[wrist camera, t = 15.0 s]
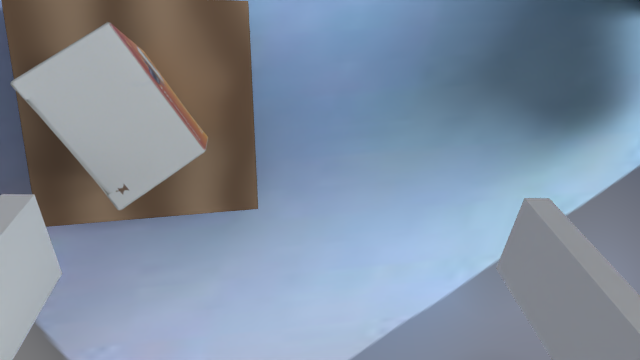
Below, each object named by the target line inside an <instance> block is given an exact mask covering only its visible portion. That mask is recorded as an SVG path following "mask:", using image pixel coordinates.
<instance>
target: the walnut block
mask: <svg viewBox="0 0 640 360" xmlns="http://www.w3.org/2000/svg"><path fill="white" fill-rule="evenodd" d="M2 7H3V13H4V19H5V26H6V32H7V38H8V45H9V51H10V57H11V64H12V70H13V76H14V79H16V78H17V77H19V76H21V75H22V74H24V73H26V72H27V71H29V70H30V69H32V68H34V67H35V66H37V65H38V64H40V63H42V62H43V61H45V60H47V59H48V58H50V57H51V56H53V55H55V54H56V53H58V52H60V51H61V50H63V49H65V48H66V47H68V46H69V45H71V44H73V43H74V42H76V41H78V40H79V39H81V38H82V37H84V36H86V35H87V34H89V33H91V32H92V31H94V30H96V29H97V28H99V27H101V26H102V25H104V24H105V23H107V22H109V23H111V24H112V25H113V26H115V27H116V28H117V29H118V30H119V31H121V32H122V33H123V34H124V35H125V36H126V37H127V38H129V39H130V40H131V41H133V42H134V43H135V44H136V45H137V46H138V47H140V48H141V49H142V50H143V51H144V52H145V53H146V55H147V56H148V57H149V59H150V60H151V61H152V63H153V64H154V66H155V67H156V68H157V70H158V71H159V72H160V74H161V75H162V76H163V78H164V79H165V81H166V82H167V83H168V85H169V86H170V87H171V89H172V90H173V92H174V93H175V94H176V96H177V97H178V98H179V100H180V101H181V103H182V104H183V105H184V107H185V108H186V109H187V111H188V112H189V113H190V115H191V116H192V117H193V118H194V120H195V121H196V122H197V124H198V125H199V126H200V127H201V129H202V130H203V131H204V132H205V134H206V135H207V136H208V142H207V146H206V151H205V152H204V153H203V154H201V155H200V156H198V157H197V158H196V159H194V160H193V161H191V162H190V163H188V164H187V165H186V166H184V167H183V168H181V169H180V170H178V171H177V172H176V173H174V174H173V175H171V176H170V177H168V178H167V179H166V180H164V181H163V182H161V183H160V184H158V185H157V186H155V187H154V188H153V189H151V190H150V191H148V192H147V193H145V194H144V195H142V196H141V197H140V198H138V199H137V200H135V201H134V202H132V203H131V204H129V205H128V206H126V207H125V208H124V209H122V210H117V208H116V207H115V206H114V204H113V203H112V202H111V201H110V199H109V198H108V197H107V195H106V194H105V193H104V191H103V190H102V189H101V187H100V186H99V185H98V184H97V183H96V181H95V180H94V179H93V178H92V176H91V175H90V174H89V173H88V172H87V171H86V169H85V168H84V167H83V166H82V165H81V164H80V162H79V161H78V160H77V159H76V158H75V157H74V155H73V154H72V153H71V152H70V151H69V150H68V148H67V147H66V146H65V145H64V144H63V143H62V141H61V140H60V139H59V138H58V137H57V136H56V135H55V133H54V132H53V131H52V130H51V129H50V128H49V126H48V125H47V124H46V123H45V122H44V121H43V120H42V118H41V117H40V116H39V115H38V114H37V113H36V112H35V111H34V109H33V108H32V107H31V106H30V105H29V104H28V103H27V102H26V101H25V100H24V99H23V98H22V97H21V96H20V94H19V93H18V92H17V91H16V95H17V102H18V108H19V114H20V121H21V127H22V133H23V140H24V146H25V152H26V159H27V165H28V171H29V178H30V184H31V190H32V194H35V197H36V200H37V203H38V206H39V209H40V212H41V214H42V217H43V220H44V223H45V226H46V227H47V226H59V225H71V224H83V223H95V222H107V221H118V220H130V219H142V218H154V217H166V216H178V215H190V214H202V213H213V212H225V211H237V210H249V209H258V197H257V175H256V154H255V133H254V112H253V91H252V70H251V49H250V28H249V7H248V1H234V0H2Z"/></svg>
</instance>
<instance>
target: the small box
mask: <svg viewBox="0 0 640 360" xmlns="http://www.w3.org/2000/svg"><path fill="white" fill-rule="evenodd" d="M11 86H12V87H13V88H14V89H15V90H16V91H17V92H18V93H19V94H20V96H21V97H22V98H23V99H24V100H25V101H26V102H27V103H28V104H29V105H30V106H31V107H32V108H33V109H34V111H35V112H36V113H37V114H38V115H39V116H40V117H41V118H42V120H43V121H44V122H45V123H46V124H47V125H48V126H49V128H50V129H51V130H52V131H53V132H54V133H55V135H56V136H57V137H58V138H59V139H60V140H61V141H62V143H63V144H64V145H65V146H66V147H67V148H68V150H69V151H70V152H71V153H72V154H73V155H74V157H75V158H76V159H77V160H78V161H79V162H80V164H81V165H82V166H83V167H84V168H85V169H86V171H87V172H88V173H89V174H90V175H91V176H92V178H93V179H94V180H95V181H96V183H97V184H98V185H99V186H100V187H101V189H102V190H103V191H104V193H105V194H106V195H107V197H108V198H109V199H110V201H111V202H112V203H113V204H114V206H115V207H116V208H117V210H122V209H124V208H125V207H126V206H128V205H129V204H131V203H132V202H134V201H135V200H137V199H138V198H140V197H141V196H142V195H144V194H145V193H147V192H148V191H150V190H151V189H153V188H154V187H155V186H157V185H158V184H160V183H161V182H163V181H164V180H166V179H167V178H168V177H170V176H171V175H173V174H174V173H176V172H177V171H178V170H180V169H181V168H183V167H184V166H186V165H187V164H188V163H190V162H191V161H193V160H194V159H196V158H197V157H198V156H200V155H201V154H203V153H204V152H205V151H206V146H207V142H208V136H207V135H206V134H205V132H204V131H203V130H202V129H201V127H200V126H199V125H198V124H197V122H196V121H195V120H194V118H193V117H192V116H191V115H190V113H189V112H188V111H187V109H186V108H185V107H184V105H183V104H182V103H181V101H180V100H179V98H178V97H177V96H176V94H175V93H174V92H173V90H172V89H171V87H170V86H169V85H168V83H167V82H166V81H165V79H164V78H163V76H162V75H161V74H160V72H159V71H158V70H157V68H156V67H155V66H154V64H153V63H152V61H151V60H150V59H149V57H148V56H147V55H146V53H145V52H144V51H143V50H142V49H141V48H140V47H138V46H137V45H136V44H135V43H134V42H133V41H131V40H130V39H129V38H127V37H126V36H125V35H124V34H123V33H122V32H121V31H119V30H118V29H117V28H116V27H115V26H113V25H112V24H111V23H109V22H107V23H105V24H104V25H102V26H101V27H99V28H97V29H96V30H94V31H92V32H91V33H89V34H87V35H86V36H84V37H82V38H81V39H79V40H78V41H76V42H74V43H73V44H71V45H69V46H68V47H66V48H65V49H63V50H61V51H60V52H58V53H56V54H55V55H53V56H51V57H50V58H48V59H47V60H45V61H43V62H42V63H40V64H38V65H37V66H35V67H34V68H32V69H30V70H29V71H27V72H26V73H24V74H22V75H21V76H19V77H17V78H16V79H14V80H12V81H11Z"/></svg>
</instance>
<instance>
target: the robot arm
mask: <svg viewBox="0 0 640 360" xmlns="http://www.w3.org/2000/svg"><path fill="white" fill-rule="evenodd" d="M496 269H497V270H498V272H499V274H500V275H501V277H502V279H503V280H504V282H505V284H506V285H507V287H508V289H509V290H510V292H511V294H512V295H513V297H514V299H515V300H516V302H517V303H518V305H519V307H520V308H521V310H522V312H523V313H524V315H525V317H526V318H527V320H528V321H529V323H530V325H531V326H532V328H533V330H534V331H535V333H536V335H537V336H538V338H539V340H540V341H541V343H542V345H543V346H544V348H545V349H546V351H547V353H548V355H549V356H550V357H551V359H552V360H640V295H639V294H638V293H637V292H636V291H635V290H634V289H633V288H632V287H631V285H630V284H629V283H628V282H627V281H626V280H625V279H624V278H623V277H622V276H621V275H620V274H619V273H618V272H617V270H616V269H615V268H614V267H613V266H612V265H611V264H610V263H609V262H608V261H607V260H606V259H605V258H604V257H603V256H602V254H601V253H600V252H599V251H598V250H597V249H596V248H595V247H594V246H593V245H592V244H591V243H590V242H589V240H588V239H587V238H586V237H585V236H584V235H583V234H582V233H581V232H580V231H579V230H578V229H577V228H576V226H575V225H574V224H573V223H571V221H570V220H569V219H568V218H567V217H566V216H565V215H564V214H563V213H562V211H561V210H560V209H559V208H558V207H557V206H556V205H555V204H554V203H553V202H552V201H551V200H550V199H549V198H524V201H523V203H522V206H521V208H520V211H519V213H518V215H517V218H516V220H515V223H514V225H513V228H512V230H511V233H510V235H509V238H508V240H507V243H506V245H505V248H504V250H503V253H502V255H501V258H500V260H499V262H498V265H497V267H496ZM61 275H62V272H61V269H60V266H59V263H58V260H57V257H56V254H55V252H54V249H53V246H52V243H51V240H50V237H49V234H48V232H47V229H46V226H45V223H44V220H43V217H42V214H41V212H40V209H39V206H38V203H37V200H36V197H35V194H1V195H0V360H13V358H14V357H15V355H16V353H17V351H18V349H19V348H20V346H21V344H22V343H23V341H24V339H25V338H26V336H27V334H28V332H29V331H30V329H31V327H32V325H33V324H34V322H35V320H36V318H37V317H38V315H39V313H40V311H41V310H42V308H43V306H44V304H45V303H46V301H47V299H48V297H49V296H50V294H51V292H52V290H53V289H54V287H55V285H56V283H57V282H58V280H59V278H60V277H61Z"/></svg>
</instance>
